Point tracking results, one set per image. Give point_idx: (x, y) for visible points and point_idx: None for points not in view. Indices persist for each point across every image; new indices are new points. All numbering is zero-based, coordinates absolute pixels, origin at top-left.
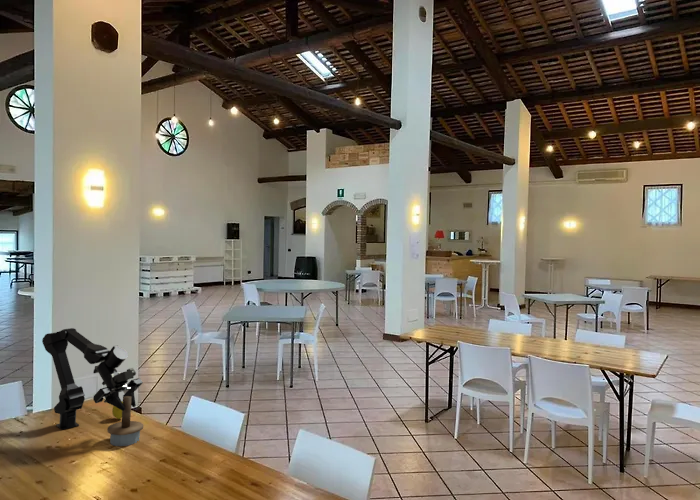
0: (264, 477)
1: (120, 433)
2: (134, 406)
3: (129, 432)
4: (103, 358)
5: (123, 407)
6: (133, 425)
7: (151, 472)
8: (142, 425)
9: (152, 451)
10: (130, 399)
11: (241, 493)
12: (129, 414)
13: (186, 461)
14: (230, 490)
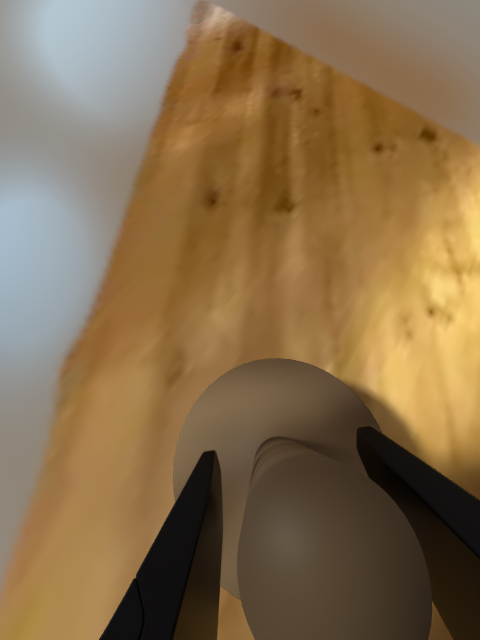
0: (207, 51)
1: (353, 392)
2: (217, 456)
3: (310, 365)
4: None
5: (386, 440)
6: (236, 442)
7: (351, 172)
8: (205, 396)
9: (267, 273)
10: (292, 459)
11: (276, 40)
12: (279, 441)
13: (249, 165)
14: (281, 52)
